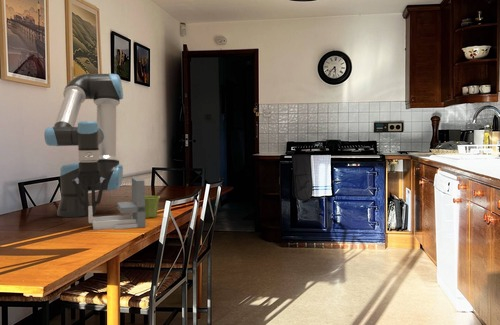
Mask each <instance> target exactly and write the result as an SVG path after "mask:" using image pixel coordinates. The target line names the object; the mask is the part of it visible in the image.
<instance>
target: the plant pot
mask: <svg viewBox="0 0 500 325" xmlns="http://www.w3.org/2000/svg"><path fill="white" fill-rule="evenodd" d="M160 198H161V196H160V195H145V219H146V218H147V219H150V218H152V219H153V218H156V217H157V216H158V209H159V201H160Z"/></svg>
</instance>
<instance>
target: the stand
mask: <svg viewBox="0 0 500 325" xmlns="http://www.w3.org/2000/svg"><path fill="white" fill-rule="evenodd" d="M145 190H146V189H145V180H144V179H142V178H141V177H139V176H137V177H135V176H133V177H131V201H123V202H121V201H120V202H119V201H118V202H117V203H116V208H117V210H118V211H119V212H120V214H130V213H131V215H134V216H135V218H136V219H137V223H134V224H120V225H114V229H113V230H123V229H138V228H146V226H147V225H146V218H145V196H146V194H145V193H146V192H145Z"/></svg>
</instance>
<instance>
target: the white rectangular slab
mask: <svg viewBox="0 0 500 325" xmlns="http://www.w3.org/2000/svg"><path fill="white" fill-rule="evenodd" d="M134 223H137V219H136V218H135V216H134V215H132V214H122V215H121V214H120V215H104V216H102V215H101V216H93V223H91V225H92V230H93V231H98V230H101V231H102V230H115V229H114V225H120V224H134Z"/></svg>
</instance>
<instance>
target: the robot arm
mask: <svg viewBox="0 0 500 325" xmlns="http://www.w3.org/2000/svg"><path fill="white" fill-rule="evenodd" d="M62 94H63V100H62V102H61V105H60V109H59V111H58V114H57V117H56V119H55V122H54V125H53V126H50V127H49V126H48V127H46V128H45V130H44V135H43V136H44V141H45V144H46V146H53V147H68V146H69V147H70V146H74V147H75V146H77V150H78V151H77V153H78V161H79V162H75V163H67V164H63V165H61V167H60V172H59V173H60V174H59V179H60V180H59V181H60V201H59V205H58V206H57V207H58V208H57V211H56V212H57V217H60V218H61V217H62V218H75V217H76V218H77V217H88V224H92V223H93V217H94V216H93V215H95V214H96V211H97V210H96V207H97V205H99V204H100V203H101V200H102V196H103V191H109V192H111V191H117V190H119V188H121V185H122V181H123V176H124V175H123V173H124V168H123V166H124V165H123V164H121V163H120V160H119V159H118V158H117V107H118V105H120V100H122V99H124V91H123V85H122V80H121V77H120V76H119V74H116V73H82V74H80V75H77V76H76V77H74V78H73V79H71V80H70V81H69V82H68V83H67V85H66V86H65V88H64V90H63V93H62ZM85 100H93V103H94V105H95V106H96V121H95V120H94V121H93V120H85V121H84V120H83V121H82V120H81V121H78V122H77V120H78V115H79V112H80V110H81V107H82V103H84V102H85ZM76 122H77V126H75V125H76ZM96 191H98V194H97V197H96ZM89 192H91V199H90V196H89Z"/></svg>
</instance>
